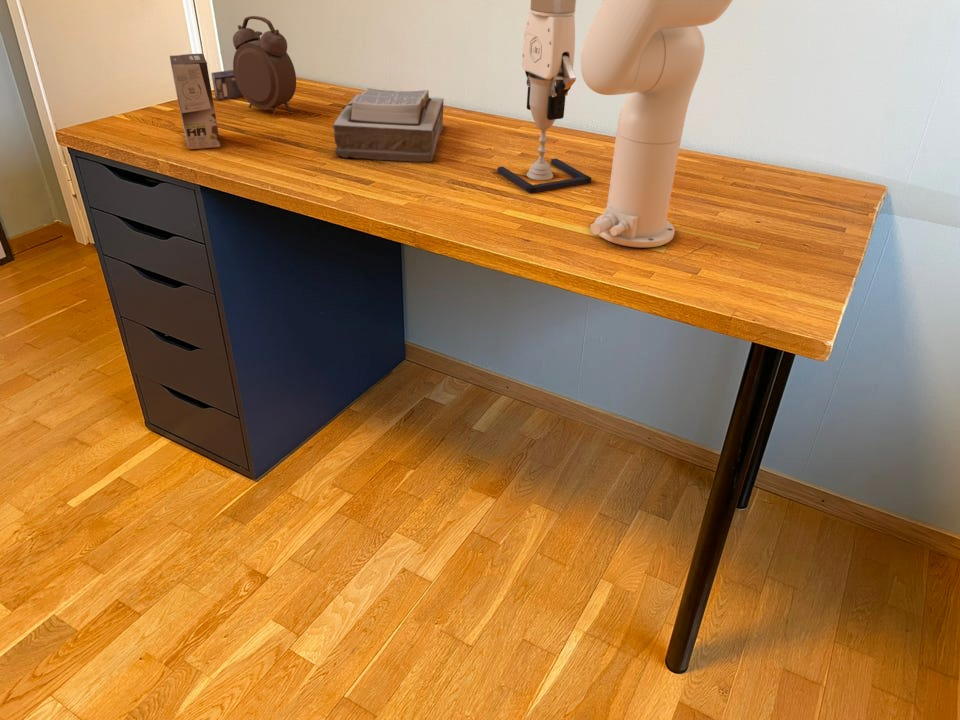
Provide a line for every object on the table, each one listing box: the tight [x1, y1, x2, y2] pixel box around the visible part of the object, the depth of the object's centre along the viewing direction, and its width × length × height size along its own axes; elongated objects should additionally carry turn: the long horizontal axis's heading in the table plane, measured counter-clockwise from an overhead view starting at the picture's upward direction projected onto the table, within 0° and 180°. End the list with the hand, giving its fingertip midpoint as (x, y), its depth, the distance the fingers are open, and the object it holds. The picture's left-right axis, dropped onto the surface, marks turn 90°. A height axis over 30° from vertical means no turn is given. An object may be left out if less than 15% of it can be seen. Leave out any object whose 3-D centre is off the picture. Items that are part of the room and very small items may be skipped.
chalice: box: [526, 73, 562, 181], centre depth 133 cm, size 7×7×18 cm
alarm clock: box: [232, 15, 297, 115], centre depth 164 cm, size 15×7×20 cm, turn 58°
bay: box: [497, 158, 592, 194], centre depth 137 cm, size 12×13×1 cm
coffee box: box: [169, 53, 221, 150], centre depth 145 cm, size 9×6×16 cm
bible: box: [332, 87, 445, 163], centre depth 150 cm, size 23×27×10 cm
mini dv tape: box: [211, 69, 244, 101], centre depth 177 cm, size 8×2×6 cm, turn 130°
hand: (544, 112), depth 132 cm, fingers closed on chalice, 6 cm apart
